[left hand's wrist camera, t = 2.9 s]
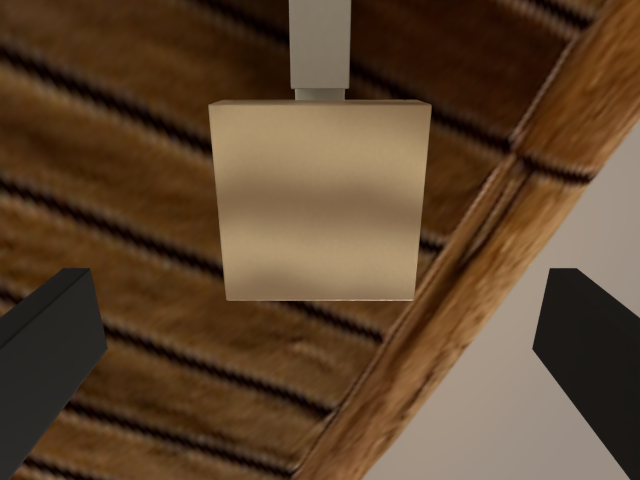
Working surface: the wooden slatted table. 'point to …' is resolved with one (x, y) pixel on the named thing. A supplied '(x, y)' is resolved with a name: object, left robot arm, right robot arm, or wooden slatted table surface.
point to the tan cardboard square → (320, 197)
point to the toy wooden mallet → (319, 48)
